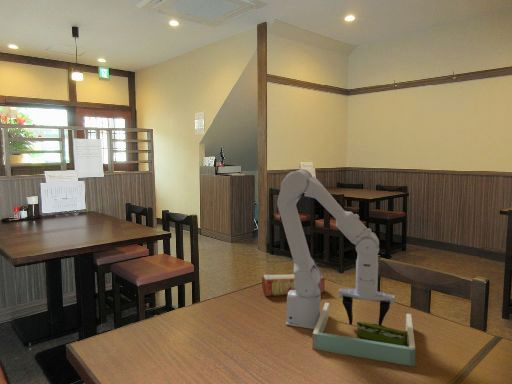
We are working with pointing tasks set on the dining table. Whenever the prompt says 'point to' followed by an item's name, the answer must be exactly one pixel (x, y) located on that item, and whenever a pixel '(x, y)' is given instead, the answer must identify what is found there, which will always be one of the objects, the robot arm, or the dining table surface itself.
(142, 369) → the dining table surface
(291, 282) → the snack package
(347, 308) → the robot arm
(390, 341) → the toy tank
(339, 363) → the dining table surface
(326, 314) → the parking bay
